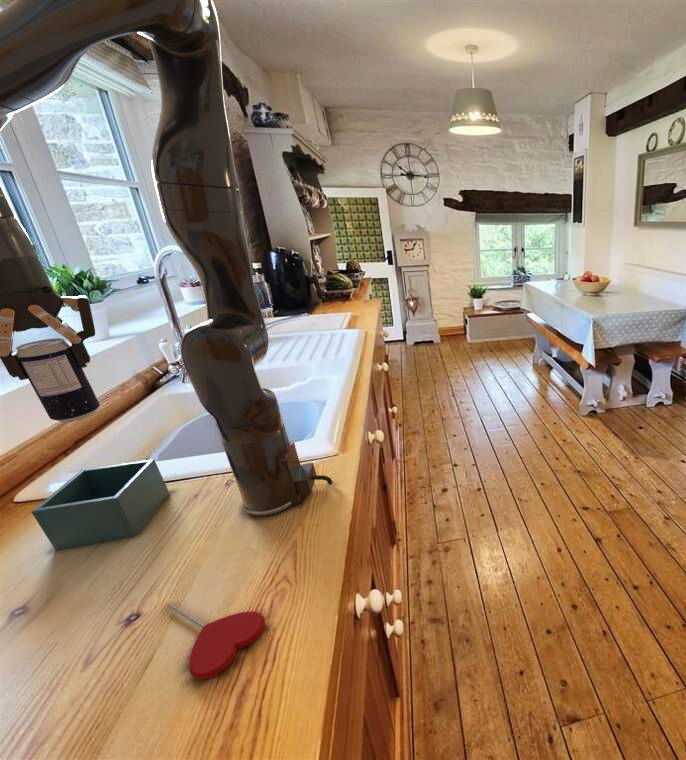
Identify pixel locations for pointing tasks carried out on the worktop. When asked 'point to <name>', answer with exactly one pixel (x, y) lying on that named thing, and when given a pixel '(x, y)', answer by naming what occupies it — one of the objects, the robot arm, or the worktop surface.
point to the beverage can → (58, 379)
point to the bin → (102, 504)
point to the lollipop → (221, 641)
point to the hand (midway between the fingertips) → (55, 371)
